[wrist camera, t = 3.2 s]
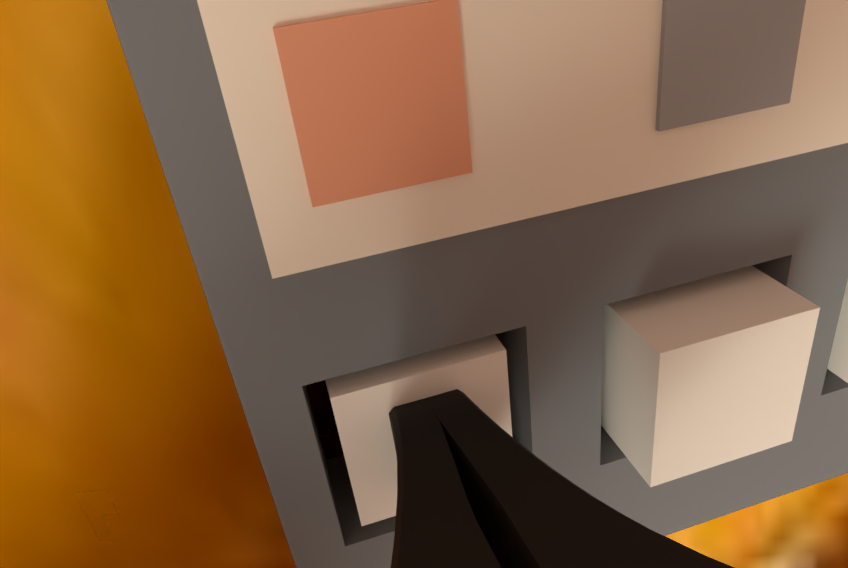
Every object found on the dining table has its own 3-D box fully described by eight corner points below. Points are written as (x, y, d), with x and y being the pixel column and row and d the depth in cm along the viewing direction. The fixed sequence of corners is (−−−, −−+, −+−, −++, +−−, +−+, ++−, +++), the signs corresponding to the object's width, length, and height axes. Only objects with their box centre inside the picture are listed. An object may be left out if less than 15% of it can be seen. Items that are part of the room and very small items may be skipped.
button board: (310, 559, 16) (326, 662, 14) (106, -85, 9) (72, -92, 7) (878, 378, 19) (968, 438, 17) (1045, -207, 12) (1233, -239, 10)
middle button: (594, 416, 15) (650, 487, 13) (595, 293, 13) (660, 353, 11) (719, 378, 15) (791, 440, 13) (736, 255, 14) (819, 307, 12)
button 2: (342, 450, 15) (361, 526, 13) (313, 332, 13) (329, 398, 11) (478, 411, 15) (514, 478, 13) (466, 293, 14) (505, 350, 12)
